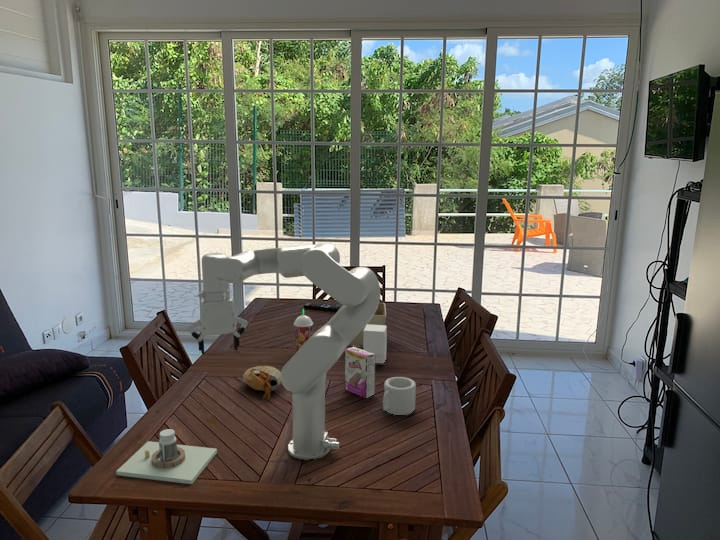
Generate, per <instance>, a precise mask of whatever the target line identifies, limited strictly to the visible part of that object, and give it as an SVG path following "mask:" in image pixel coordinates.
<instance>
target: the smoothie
mask: <svg viewBox="0 0 720 540" xmlns="http://www.w3.org/2000/svg"><path fill="white" fill-rule="evenodd" d="M293 329H294V340H295V341H294V343H295V351H296V352H297V351H298V350H299V349H300V348H301V347H302V346H303V345H304V344H305V343H306V342H307V341H308V339H309V338H310V337H311V336H312V335H313V331H314V330H313V329H314V322H313V321H312V318H311V317H310V316H308V315H305V309H304V308H303V309H302V314H301V315H299V316H297V318H296V319H295V320H294V322H293Z"/></svg>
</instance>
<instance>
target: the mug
mask: <svg viewBox="0 0 720 540" xmlns="http://www.w3.org/2000/svg"><path fill="white" fill-rule="evenodd" d="M383 384H384V386H383V387H384V394H383V399H382V400H383V401H382V409H383V411H385V412H386V411H387V412H388V413H387V412H386V413H387V414H389V413H391V414H394V415H393V416H395V415H406V416H408V415H407V414H410V413H412V412H413V411H414V410H415V411H416V393H417V392H416V390H417V384H416V382H415V381H414V380H413V379H411V378H408V377H405V376H394V377H393V376H392V377H389V378H387V379H386V380H385V381H384V383H383ZM415 411H414V412H415ZM414 412H413V413H414ZM413 413H412V414H413ZM391 414H390V415H391ZM410 415H411V414H410Z"/></svg>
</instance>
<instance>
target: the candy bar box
mask: <svg viewBox="0 0 720 540" xmlns="http://www.w3.org/2000/svg"><path fill="white" fill-rule="evenodd" d="M375 379H376V365H375V354H374V353H371V352H368V351H365V350H363V349H362V348H361V347H354V346H353V347H346V349H345V351H344V390H345V389H346V390H347V391H346V390H345V391H346V392H348V391H350V392H349V393H351V392H352V393H351V394H353V393H355V394H357V395H356V396H358V395H360V396H362V397H364V398H368V397H370V396H372V395H374V394H376V393H375V389H376V388H375V387H376V385H375V384H376V382H375V381H376V380H375ZM355 394H354V395H355ZM360 396H359V397H360ZM374 396H375V395H374ZM362 397H361V398H362ZM372 397H373V396H372ZM364 398H363V399H364ZM370 398H371V397H370ZM368 399H369V398H368Z"/></svg>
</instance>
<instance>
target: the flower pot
mask: <svg viewBox="0 0 720 540" xmlns="http://www.w3.org/2000/svg"><path fill="white" fill-rule="evenodd" d="M386 308H387V307H386V303H385V302H379V304H378V307H377V310H376V312H375V314H374V315H373V317H372V318H371V320H370V321H369V322H368V324H369V325H386V319H387V309H386ZM365 327H366V326H365ZM365 327H364V328H363V329H362V330H361V331H360V333H359V334H358V335H357V336H356V337H355V338H354V339H353V340H352V341H351V342H350V344H349V346H350V345H363V330H364V329H365Z"/></svg>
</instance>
